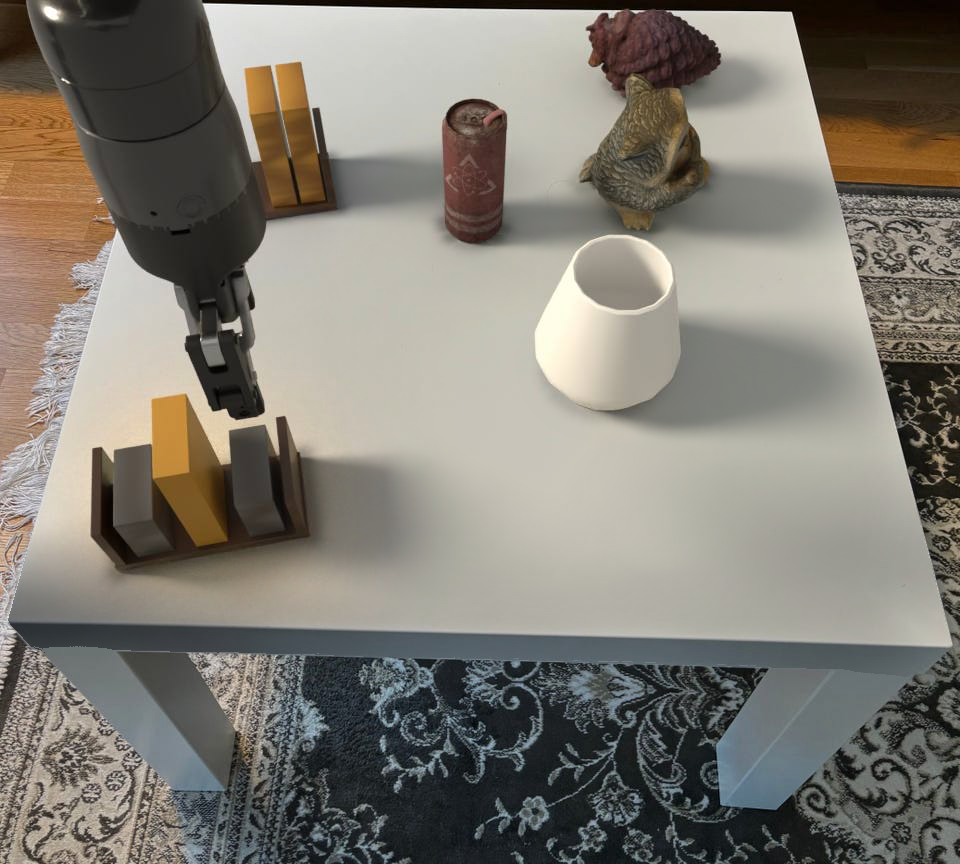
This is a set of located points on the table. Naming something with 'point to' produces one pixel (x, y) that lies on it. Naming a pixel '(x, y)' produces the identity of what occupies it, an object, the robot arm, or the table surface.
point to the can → (474, 169)
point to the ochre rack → (280, 175)
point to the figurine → (647, 155)
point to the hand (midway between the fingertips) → (244, 358)
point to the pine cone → (651, 49)
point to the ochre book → (188, 469)
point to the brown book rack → (157, 529)
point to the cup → (612, 325)
